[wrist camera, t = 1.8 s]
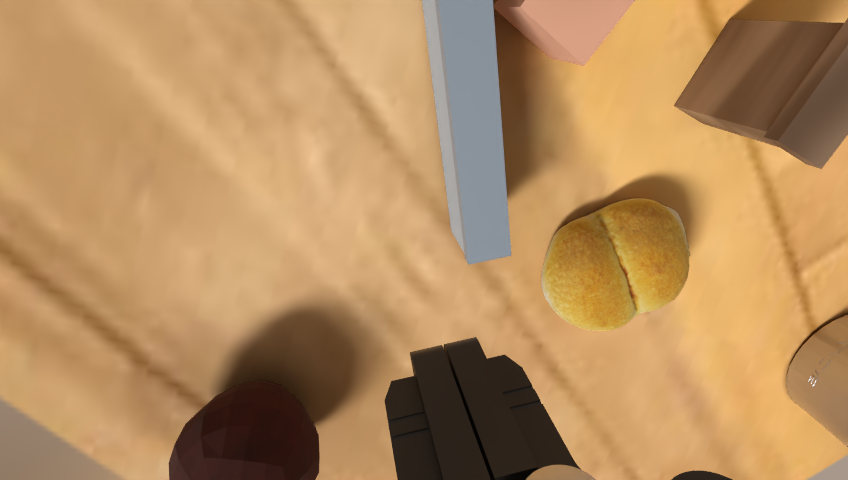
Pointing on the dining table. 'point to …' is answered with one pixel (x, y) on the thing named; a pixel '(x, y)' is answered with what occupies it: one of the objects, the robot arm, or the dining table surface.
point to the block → (564, 24)
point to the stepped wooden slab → (776, 86)
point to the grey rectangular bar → (469, 123)
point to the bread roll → (616, 264)
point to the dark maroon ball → (248, 438)
